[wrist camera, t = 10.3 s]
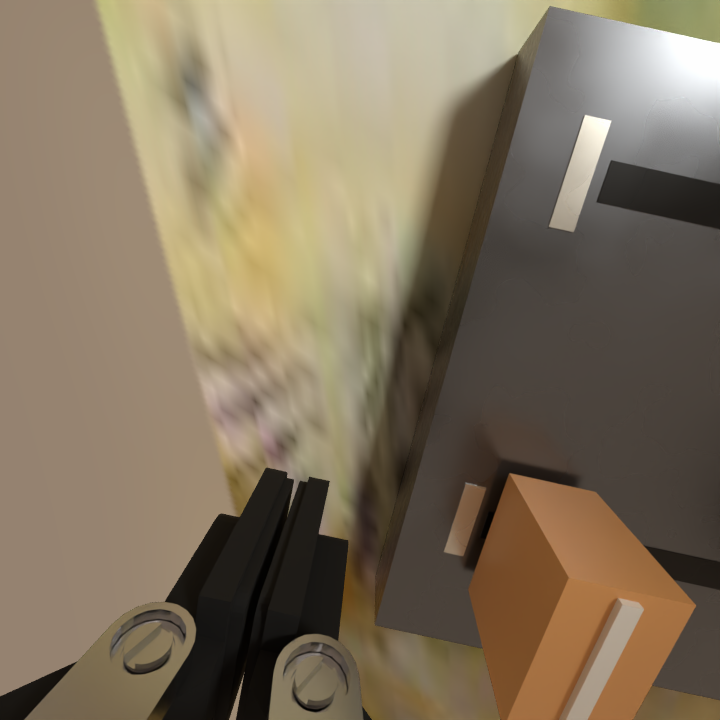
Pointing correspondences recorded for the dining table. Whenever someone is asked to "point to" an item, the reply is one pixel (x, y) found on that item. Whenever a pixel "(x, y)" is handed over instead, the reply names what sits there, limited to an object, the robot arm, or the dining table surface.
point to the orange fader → (570, 606)
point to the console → (581, 330)
